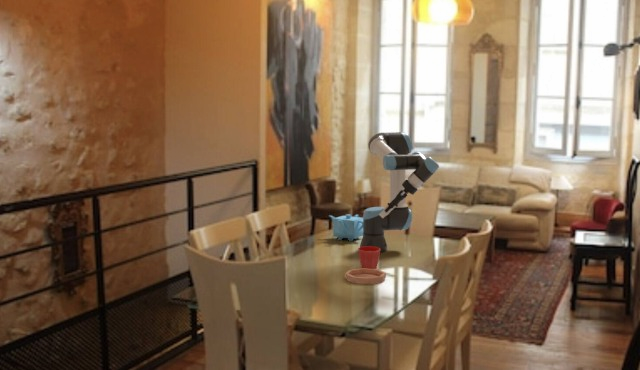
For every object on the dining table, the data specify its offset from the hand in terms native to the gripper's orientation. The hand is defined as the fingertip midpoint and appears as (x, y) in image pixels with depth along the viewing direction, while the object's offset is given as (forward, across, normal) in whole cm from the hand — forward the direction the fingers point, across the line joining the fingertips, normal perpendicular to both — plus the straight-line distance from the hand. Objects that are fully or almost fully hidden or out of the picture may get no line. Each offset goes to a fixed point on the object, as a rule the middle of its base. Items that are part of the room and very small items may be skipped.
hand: (382, 215), depth 335 cm
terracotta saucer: (+24, -22, -16) cm, 36 cm away
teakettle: (+36, +65, +8) cm, 75 cm away
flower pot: (+24, 0, -13) cm, 27 cm away
